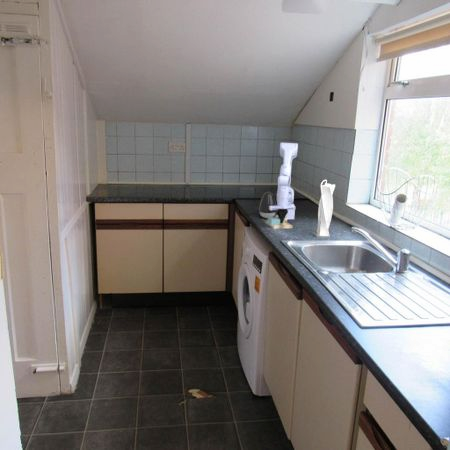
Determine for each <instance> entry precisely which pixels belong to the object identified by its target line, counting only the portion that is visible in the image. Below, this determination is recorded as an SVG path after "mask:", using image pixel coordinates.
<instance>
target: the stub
mask: <svg viewBox="0 0 450 450" xmlns="http://www.w3.org/2000/svg"><path fill="white" fill-rule="evenodd" d="M267 220H268V223H269V224H270V225H280V219H279V218H277V217H275V216H274V217H268V218H267Z"/></svg>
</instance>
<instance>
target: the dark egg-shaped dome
mask: <svg viewBox="0 0 450 450" xmlns="http://www.w3.org/2000/svg"><path fill="white" fill-rule="evenodd" d="M275 197H277V193H274V194H273V193H272V192H271V191H266V192H264V193H263V195H262V197H261V199H260V202H259V208H258V212H259V215H260V216H261V217H262V218H264V219H268V217H275V215H276V214H277V212H276V210H269V206H276V205H277V203H276V202H277V201H276V199H275Z"/></svg>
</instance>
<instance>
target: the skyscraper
mask: <svg viewBox="0 0 450 450" xmlns="http://www.w3.org/2000/svg"><path fill="white" fill-rule="evenodd" d="M324 182H325V183H324ZM327 182H328V180H327V179H324V180H322V182H321V183H320V193H321V195H320V198H319V203H318V208H317V209H318V212H317V219H318V220H317V228H316V232H313V233H312V235H313V236H315V238H322V239H323V238H324V239H330V238H331V236H330V233H329V232H330V231H329V228H330V225H331V222H332V216H333V210H334V198H333V193H334V192H335V191H334V190H335V189H336V184H334V183H333V184H331V183H327ZM323 183H324V184H323Z"/></svg>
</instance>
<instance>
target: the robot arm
mask: <svg viewBox="0 0 450 450" xmlns="http://www.w3.org/2000/svg"><path fill="white" fill-rule="evenodd" d="M298 149H299V143H297V142H280V144H279V156H280V157H281V158H283V164H281V166H280V170H279V175H278V177H277V191H276V194H277V196H275V197H276V199H275V202H277V203H276V206H269V210H276V215H278V217H279V219H280V223H283V221H284V218H285V216H287V220H295V213H296V212H295V211H296V206H295V204H294V199H295V197H294V196H295V190H294V189H293V188H292V187H291V182H292V181H291V180H292V178H291V175H292V166H293V165H292V164H293V163H292V162H293V160H294V159H295V158H297V156H298Z"/></svg>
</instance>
